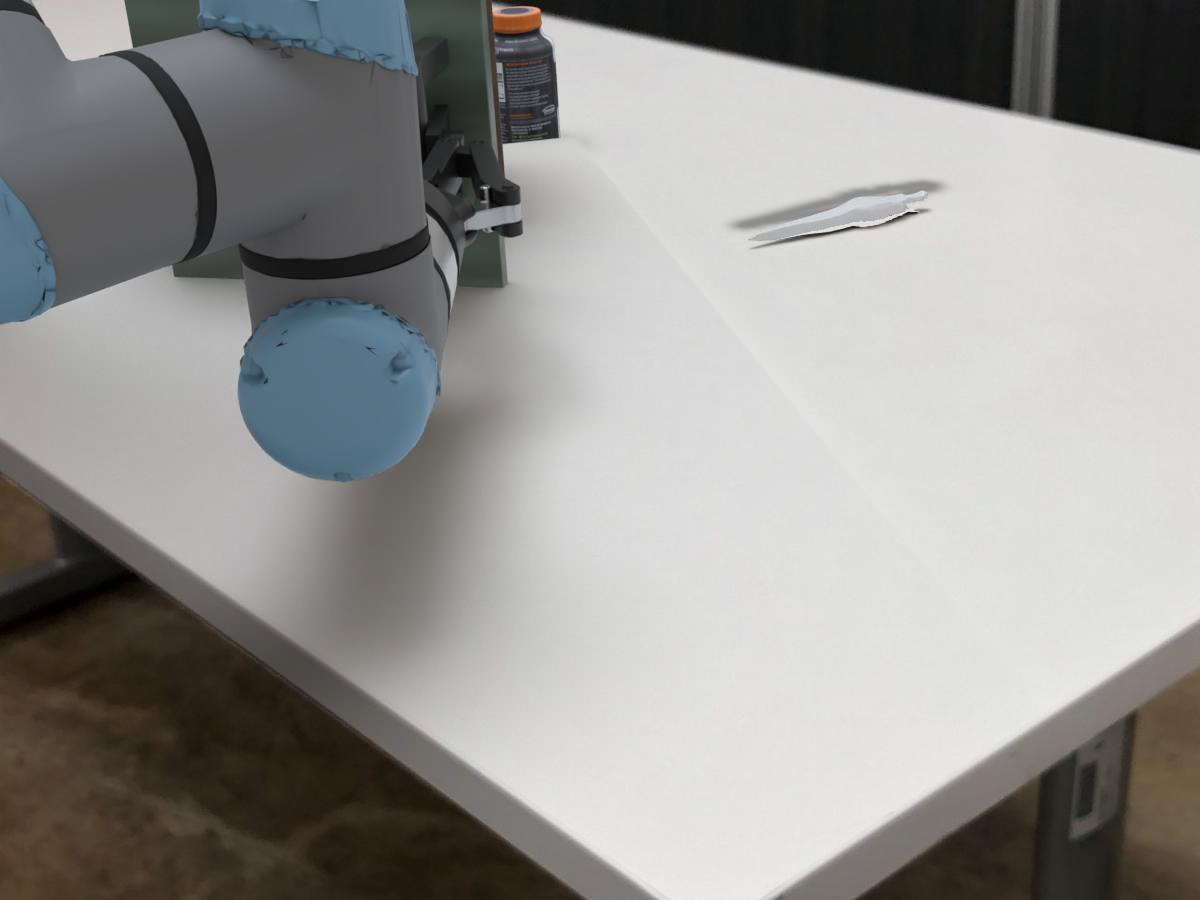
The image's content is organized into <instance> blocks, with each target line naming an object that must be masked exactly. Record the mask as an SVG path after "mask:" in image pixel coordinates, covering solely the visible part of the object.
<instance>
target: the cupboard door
mask: <svg viewBox="0 0 1200 900" xmlns="http://www.w3.org/2000/svg"><path fill="white" fill-rule="evenodd" d="M123 2H124V7H125V12H126V18H127V22H128V28H129V29H128V30H129V34H130V40H131V45H132V48H136V47H140V46H144V45H149V44H153V43H157V42H162V41H166V40H171V39H175V38H179V37H184V36H188V35H192V34H197V33H201V31H202V30H201V28H200V27H199V24H198V20H197V17H198V15H199V13H200V4H199V0H123ZM404 3H405V8H406V11H407V13H408V19H409V26H410V33H411V39H412V45H413V51H414V57H415V62H416V64H417V68H418V76H417V77H416V86H417V101H418V115H419V130H420V145H421V159H422V166H423V164H424V162H425V161H426V159H427V148H426V138H425V135H426V132H427V129H428V126H429V122H430V119H431V116H432V113H433V110H434V107H435V105H443V104H448V112H449V123H450V130H462V131H463V132H464V143H465V146H466V147H469V141H471V140H475V139H477V138H485V139H487V140H490V142H491V144H492V147H493V150H494V152H495V155H496V158H497V160H498V150H497V137H496V124H495V111H494V98H493V85H492V72H491V60H490V47H489V34H488V21H487V8H486V0H404ZM462 186H463V195H461V194H458V195H456V196H458V197H460V198H462V199H465V200H467V201H469V202H470V203H471V204H472V205H473V206H474V205H475V202H474V201H475V199H476V196H475V193H474V189H473V186H472V178H462ZM505 240H506V239H505V237H503V236H501V235H499V234H497V233H496V232H494V231H493V232H490V233H486V232H484V231H483V229H479V230H477V237H476V239H475V240H474V242H473V243H471V244H470V245H468V246H466V247H465V248H464V252H463V258H462V263H461V268H460V273H459V278H458V282H457V286H456V287H464V288H491V289H492V288H493V289H494V288H497V289H504V288H505V286H506V285H507V283H508V281H509V280H508V279H509V278H508V269H507V268H508V267H507V255H506V244H505V243H506V241H505ZM171 267H172V271H173V277H174V278H192V279H193V278H195V279H198V278H199V279H222V280H223V279H224V280H225V279H226V280H227V279H228V280H244V275H243V267H242V260H241V258H240V253H239V247H238V244H237V245H234V246H231V247H228V248H225V249H222V250H219V251H216V252H213V253H209V254H206V255H203V256H200V257H197V258H194V259H191V260H187V261H184V262H182V263H179V264H175V265H171Z"/></svg>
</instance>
